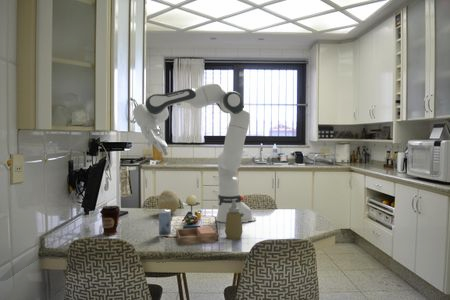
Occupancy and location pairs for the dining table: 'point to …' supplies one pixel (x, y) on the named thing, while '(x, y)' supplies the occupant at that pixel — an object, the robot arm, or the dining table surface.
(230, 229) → the squeeze bottle
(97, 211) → the dining table surface
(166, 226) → the tin can
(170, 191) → the fossilized egg
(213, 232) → the pasta box
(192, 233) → the crate
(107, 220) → the coffee cup
